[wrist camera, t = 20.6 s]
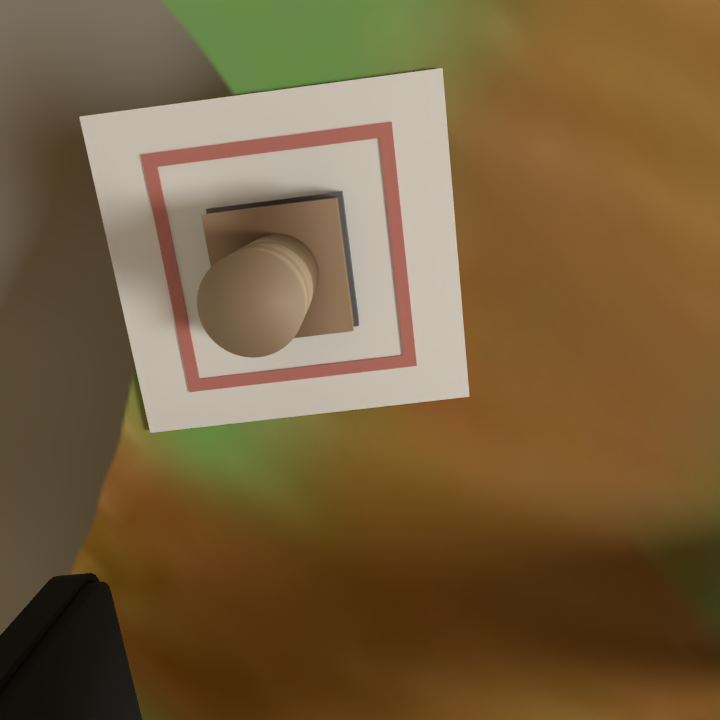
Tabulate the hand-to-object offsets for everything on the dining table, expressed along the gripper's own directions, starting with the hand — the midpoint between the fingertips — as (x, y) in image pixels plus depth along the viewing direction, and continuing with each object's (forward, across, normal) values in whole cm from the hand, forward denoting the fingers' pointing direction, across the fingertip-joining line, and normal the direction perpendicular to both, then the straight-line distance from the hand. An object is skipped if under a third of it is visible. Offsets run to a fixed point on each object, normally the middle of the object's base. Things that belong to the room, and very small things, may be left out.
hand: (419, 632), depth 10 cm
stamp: (+22, +5, -4) cm, 23 cm away
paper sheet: (+22, +5, -4) cm, 23 cm away
